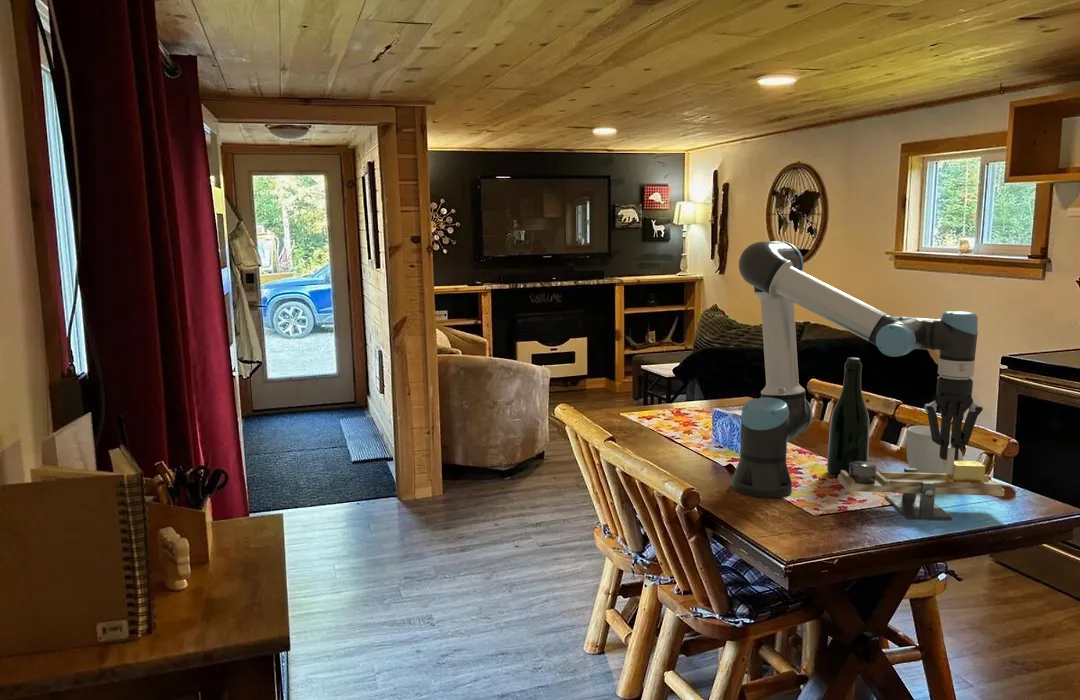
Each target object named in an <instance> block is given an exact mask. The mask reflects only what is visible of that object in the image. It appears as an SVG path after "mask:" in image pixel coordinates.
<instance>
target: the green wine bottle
mask: <svg viewBox="0 0 1080 700" xmlns="http://www.w3.org/2000/svg"><path fill="white" fill-rule="evenodd" d="M862 369H863V364H862V362H861V358H859V357H855V356H853V357H852V356H851V357H847V359H846V362H845V363H844V377H843V385H842V387H841V388H842V389H841V393H840V395H839V396H838V400H837V402H836V404H835V406H834V408H833V410H832V414H831V416H830V426H829V433H828V434H829V435H828V436H829V437H828V447H827V448H828V450H827V461H826V462H827V464H826V469H827V470H826V471H827V473H828V474H829V475H831V476H833V477H835V478H838V475H840V472H841V470H845V471H846V472H847V473H848V474H849V469H850V462H853V461H865V462H869V446H870V417H869V411H868V409H867V406H866V403H865V400H864V396H863V392H862Z"/></svg>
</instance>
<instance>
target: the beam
mask: <svg viewBox="0 0 1080 700" xmlns="http://www.w3.org/2000/svg"><path fill="white" fill-rule="evenodd" d="M837 481H838V482H839V483H840V485H841V486H843V488H844V489H845V490H846V491H847V492H864V493H866V492H868V493H895V494H896V493H897V494H898V493H899V494H901V493H902V494H903V493H916V494H920V493H921V482H934V483H936V487H935V495H958V496H959V495H962V496H963V495H964V496H989V497H991V496H993V497H995V496H997V497H1005V491H1006V490H1005V489H1004V488H1003V483H1000V482H993V481H992V480H991V479H990V475H988V474H985V476H984V483H976V482H948V481H946V473H913V472H904V471H878V470H876V479H875V483H874V484H858V483H855V480H854V479H853V478H852V477H851V476H850V475H849V474H848V473H847V472H846V471H845V470H841V472H840V475H838V477H837Z"/></svg>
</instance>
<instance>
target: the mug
mask: <svg viewBox="0 0 1080 700" xmlns="http://www.w3.org/2000/svg"><path fill="white" fill-rule="evenodd" d="M939 431H941V427H939ZM951 431H952V430H950V439H949V445H951ZM960 449H961V448H959V453H958V459H957V461H964V456H963V453H962V451H961V450H960ZM939 454H940V445H938V444H936V443H935V442H933V441H932V436H931V431H930V425H912V426H909V427H908V428H907V436H906V458H907V464H908V468H916V469H918V473H945V472H943V471H942V463H943V460H942V459H941V458H940V456H939Z"/></svg>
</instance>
